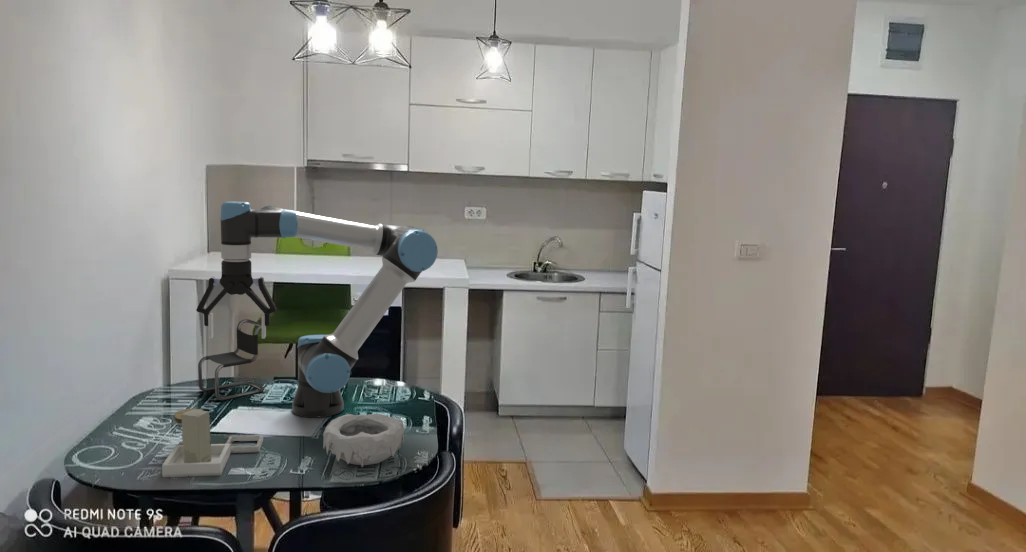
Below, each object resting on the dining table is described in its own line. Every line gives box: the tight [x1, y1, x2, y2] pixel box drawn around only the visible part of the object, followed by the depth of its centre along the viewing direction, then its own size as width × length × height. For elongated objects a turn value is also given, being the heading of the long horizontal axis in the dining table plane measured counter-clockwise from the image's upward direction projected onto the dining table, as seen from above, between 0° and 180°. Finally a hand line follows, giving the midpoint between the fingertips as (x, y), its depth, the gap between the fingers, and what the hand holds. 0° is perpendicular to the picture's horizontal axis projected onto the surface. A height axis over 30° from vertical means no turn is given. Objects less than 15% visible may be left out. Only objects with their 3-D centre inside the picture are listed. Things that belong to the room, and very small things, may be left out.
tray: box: [161, 443, 231, 478], centre depth 187 cm, size 13×13×3 cm
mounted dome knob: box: [173, 408, 205, 445], centre depth 196 cm, size 7×7×10 cm
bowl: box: [322, 413, 405, 468], centre depth 194 cm, size 21×20×10 cm
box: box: [181, 410, 212, 463], centre depth 186 cm, size 5×4×13 cm
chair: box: [197, 318, 265, 401], centre depth 244 cm, size 13×17×22 cm
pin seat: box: [225, 434, 264, 454], centre depth 200 cm, size 8×8×2 cm
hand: (237, 337), depth 206 cm, fingers open, 13 cm apart
